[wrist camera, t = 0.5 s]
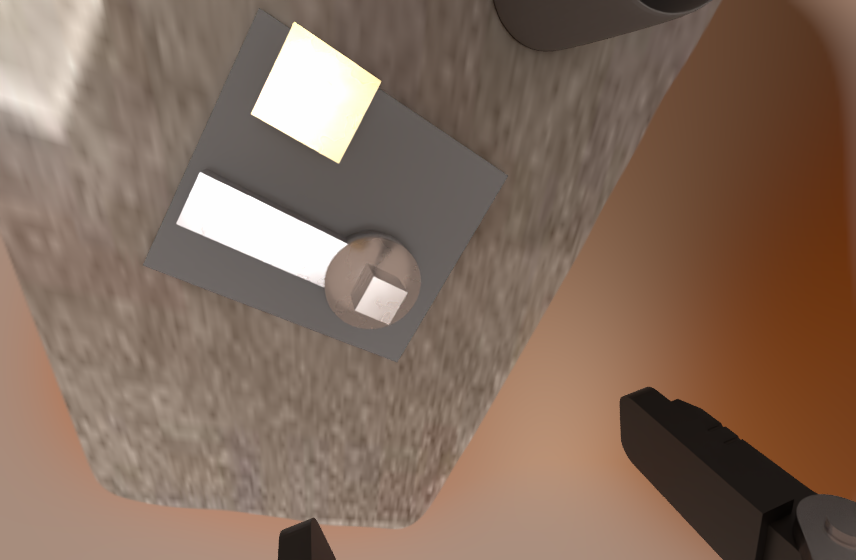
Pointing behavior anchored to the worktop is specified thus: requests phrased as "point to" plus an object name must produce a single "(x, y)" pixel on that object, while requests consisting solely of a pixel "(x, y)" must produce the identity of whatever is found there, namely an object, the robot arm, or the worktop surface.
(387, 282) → the ratchet
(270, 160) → the mat
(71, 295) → the worktop surface
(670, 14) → the mug
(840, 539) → the robot arm
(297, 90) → the wooden toy cube
